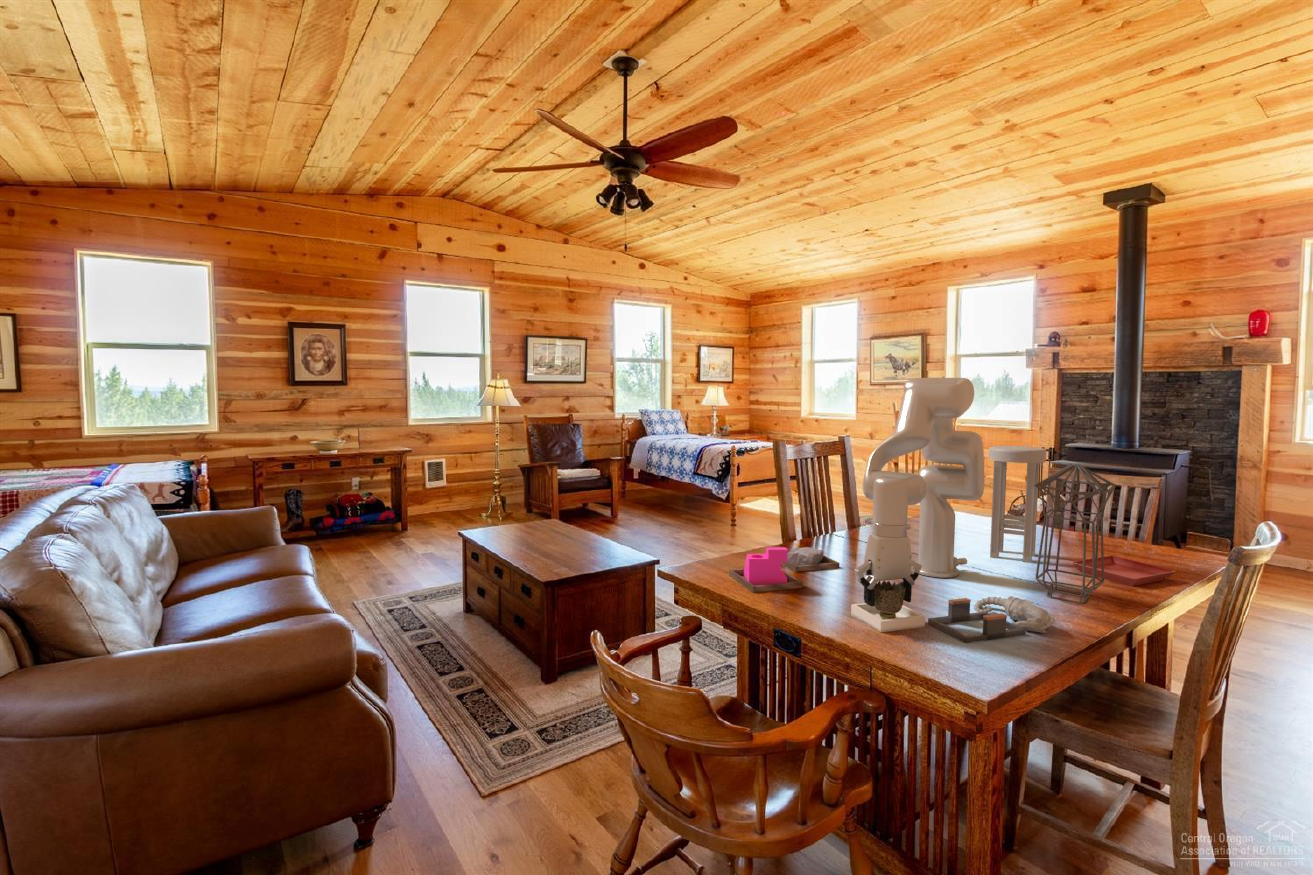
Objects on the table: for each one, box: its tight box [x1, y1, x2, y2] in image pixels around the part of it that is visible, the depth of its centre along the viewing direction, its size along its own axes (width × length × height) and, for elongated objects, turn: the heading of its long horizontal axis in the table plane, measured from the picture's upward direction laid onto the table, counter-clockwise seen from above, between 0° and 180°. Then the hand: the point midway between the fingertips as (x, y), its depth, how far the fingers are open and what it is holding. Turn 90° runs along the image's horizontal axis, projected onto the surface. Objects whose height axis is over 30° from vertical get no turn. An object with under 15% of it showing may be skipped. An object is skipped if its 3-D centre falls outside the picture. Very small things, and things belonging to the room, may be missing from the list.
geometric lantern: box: [1034, 463, 1116, 604], centre depth 166 cm, size 16×16×35 cm
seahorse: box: [973, 595, 1056, 634], centre depth 151 cm, size 5×12×20 cm
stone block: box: [787, 546, 825, 566], centre depth 200 cm, size 12×5×10 cm
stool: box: [988, 445, 1047, 564], centre depth 206 cm, size 16×16×35 cm
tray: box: [850, 602, 926, 633], centre depth 150 cm, size 12×12×2 cm
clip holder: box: [927, 597, 1027, 644], centre depth 145 cm, size 16×12×5 cm
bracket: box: [743, 546, 789, 586], centre depth 181 cm, size 12×10×10 cm
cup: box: [873, 580, 906, 620], centre depth 150 cm, size 8×7×8 cm
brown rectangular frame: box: [781, 550, 840, 572], centre depth 200 cm, size 15×17×2 cm
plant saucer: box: [1071, 555, 1176, 587], centre depth 186 cm, size 18×18×3 cm
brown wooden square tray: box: [728, 568, 804, 593], centre depth 181 cm, size 15×17×2 cm
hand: (887, 602), depth 150 cm, fingers open, 9 cm apart
